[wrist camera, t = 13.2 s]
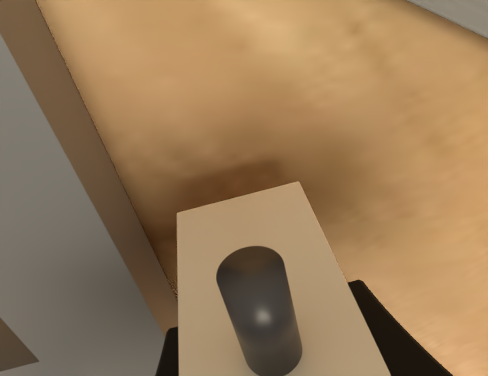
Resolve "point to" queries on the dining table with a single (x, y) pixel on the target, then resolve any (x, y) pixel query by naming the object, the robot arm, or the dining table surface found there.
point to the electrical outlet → (460, 12)
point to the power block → (67, 227)
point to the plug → (266, 293)
